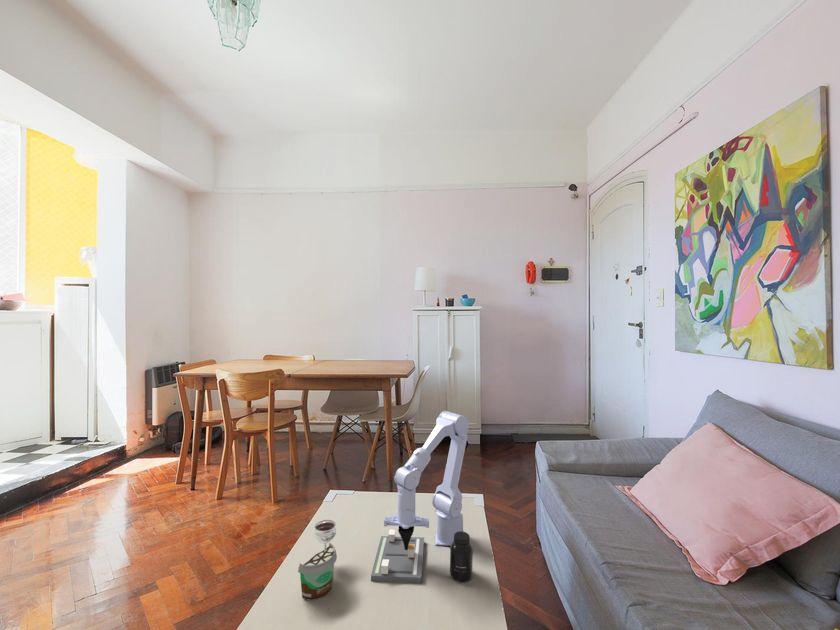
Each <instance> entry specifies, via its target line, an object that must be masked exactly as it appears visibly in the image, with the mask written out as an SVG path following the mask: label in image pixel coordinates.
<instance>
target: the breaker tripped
mask: <svg viewBox="0 0 840 630" xmlns="http://www.w3.org/2000/svg"><path fill="white" fill-rule="evenodd" d="M414 555H415V544H409V546H408V558H414Z"/></svg>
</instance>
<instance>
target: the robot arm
mask: <svg viewBox="0 0 840 630" xmlns="http://www.w3.org/2000/svg"><path fill="white" fill-rule="evenodd" d="M435 423H436V425H435V426H434V428H433V430H432V431H431V433H430V434H429V436H428V438H427V439H426V441H425V443H424V444H423V446H422V447H417V448H416V449H415V450H414V451H413V453H412V455H411V456H410V458H409V459H408V460H407V461H406V463H405V464H404V466H401V467H399V468H397V470H396V471H395V474H394V475H395V476H393V481H394V482H395V484H396V488H397V515H395V516H388V517H386V516H385V517H384V518H383V527H384V528H385V527H388V526H393V527H394V526H395V527H397V526H398V530H397V531H398V534H399V537H401V538H402V540H403V543H404V548H405V550H408V545H409V541H410V538H411V537H412V536H413V534H414V531H415V527H424V528H426V529H429V528H430V518H425V517H420V516H417V515H416V488H417V486H419V483H420V480H421V476H422V473H423V471H424V470H425V468H426V467H427V465H428V464H429V463H430V461H431V459H432V458H431V453H432V452H433V451H435V449H436V448H437V446H438V445H439V444H441V442H442V440H443V439H444V438H445V437H449V438H450V439H451V440H450V445H449V450H448V455H447V461H446V465H445V470H444V473H443V479H442V480H443V481H442V483H441V484H440V485H438V486H436V489H435V492H434V494H433V496H432V501H431V503H432V506H433V508H434V509H435V512H436V531H435V539H434V540H435V545H436V546H450V547H451V544H452V542H454V534H455V533H456V532H459V531H462V532H465V531H464V516H463V513H462V509H463V503H462V502H463V501H462V500H463V494H462V492H461V491H460V489H459V487H458V485H459V481H460V477H461V472H462V465H463V461H464V455H465V450H466V446H467V440H468V432H469V428H470V422H469V420H468V418H467V417H466V415H463V414H458V413H454V412H452V411H451V412H450V411H448V410H443V411H441V413H440V414H439V415H438V417H437V418H436V421H435Z"/></svg>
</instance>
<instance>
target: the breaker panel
mask: <svg viewBox="0 0 840 630" xmlns="http://www.w3.org/2000/svg"><path fill="white" fill-rule="evenodd" d="M409 544H415V555H414V558H408V550H405V548H404V543H403V540H402V538H401V536H395V541H394V542H388V535H381V536H380V540H379V543H378V548H377V551H376V555H375V559H374V563H373V566H372V569H371V574H370V581H371V582H391V583H392V582H393V583H416V584H417V583H418V584H419V583H420V584H421V583H422V578H423V564H424V562H423V561H424V546H425V537H418V536H417V537H416V536H413V537H412V536H411V538H410V541H409ZM408 546H409V545H408ZM383 559H389V571H388V574H381V565H382V560H383Z"/></svg>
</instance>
